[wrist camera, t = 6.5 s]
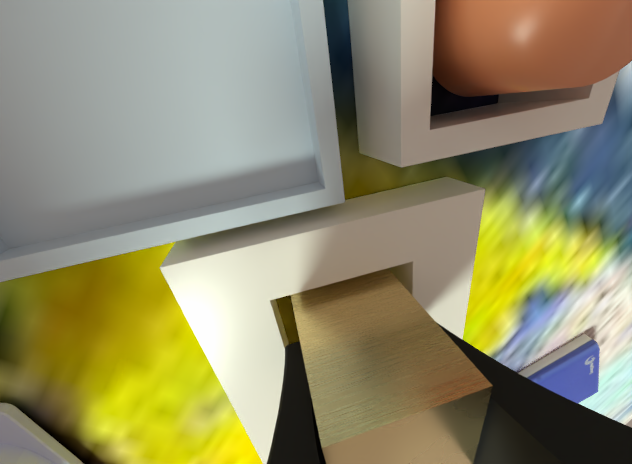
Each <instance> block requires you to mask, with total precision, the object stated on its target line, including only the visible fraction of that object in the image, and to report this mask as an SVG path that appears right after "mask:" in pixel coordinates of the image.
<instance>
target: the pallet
mask: <svg viewBox="0 0 632 464" xmlns="http://www.w3.org/2000/svg"><path fill="white" fill-rule="evenodd" d="M484 195H485V188H481V187H478V186H475V185H472V184H469V183H465V182H462V181H459V180H456V179H453V178H449V177H443V178H439V179H435V180H430V181H426V182H422V183H417V184H413V185H409V186H404V187H400V188H395V189H391V190H387V191H382V192H378V193H374V194H369V195H365V196H361V197H356V198H352V199H348V200H345V202H344V203H340V204H336V205H331V206H327V207H323V208H318V209H314V210H310V211H305V212H301V213H297V214H292V215H288V216H284V217H279V218H275V219H271V220H266V221H262V222H258V223H254V224H249V225H245V226H241V227H236V228H232V229H228V230H223V231H219V232H215V233H210V234H206V235H202V236H197V237H193V238H189V239H184V240H180V241H176V242H175V244H174V246H173V247H172V249H171V250H170V252H169V254H168V255H167V257H166V258H165V260H164V262H163V263H162V265H161V267H160V269H161V271H162V273H163V275H164V277H165V279H166V281H167V283H168V285H169V286H170V288H171V290H172V292H173V294H174V296H175V298H176V300H177V302H178V303H179V305H180V307H181V309H182V311H183V313H184V315H185V317H186V319H187V321H188V322H189V324H190V326H191V328H192V330H193V332H194V334H195V336H196V338H197V339H198V341H199V343H200V345H201V347H202V349H203V351H204V353H205V355H206V356H207V358H208V360H209V362H210V364H211V366H212V368H213V370H214V372H215V373H216V375H217V377H218V379H219V381H220V383H221V385H222V387H223V389H224V390H225V392H226V394H227V396H228V398H229V400H230V402H231V404H232V406H233V407H234V409H235V411H236V413H237V415H238V417H239V419H240V421H241V423H242V424H243V426H244V428H245V430H246V432H247V434H248V436H249V438H250V440H251V441H252V443H253V445H254V447H255V449H256V451H257V453H258V455H259V457H260V458H261V460H262V462H263V464H267V461H268V457H269V452H270V448H271V444H272V439H273V434H274V430H275V425H276V420H277V415H278V410H279V404H280V397H281V391H282V384H283V376H284V366H285V347H286V346H287V345H289V342H288V339H287V335H286V332H285V329H284V325H283V322H282V318H281V315H280V312H279V308H278V305H277V302H276V299H277V298H281V297H285V296H288V295H292V294H295V293H299V292H303V291H306V290H310V289H314V288H317V287H321V286H325V285H328V284H332V283H336V282H339V281H343V280H346V279H350V278H354V277H357V276H361V275H365V274H368V273H372V272H376V271H379V270H383V269H387V268H389V270H390V271H391V272H392V273H393V275H394V276H395V277H396V278H397V279H398V280H399V281H400V282H401V284H402V285H403V286H404V287H405V288H406V289H407V290H408V291H409V292H410V294H411V295H412V296H413V297H414V298H415V299H416V300H417V301H418V303H419V304H420V305H421V306H422V307H423V308H424V309H425V310H426V312H427V313H428V314H429V315H430V316H431V317H432V318H433V319H434V321H435V322H437V323H438V324H440V325H441V326H443V327H444V328H446V329H447V330H449V331H450V332H452V333H453V334H455V335H456V336H458V337H459V338H461V339H463V332H464V326H465V319H466V312H467V306H468V299H469V293H470V286H471V280H472V273H473V267H474V260H475V254H476V247H477V241H478V234H479V228H480V221H481V215H482V208H483V202H484Z"/></svg>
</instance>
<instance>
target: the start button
mask: <svg viewBox="0 0 632 464" xmlns="http://www.w3.org/2000/svg"><path fill="white" fill-rule="evenodd" d="M631 61H632V0H436V1H435V23H434V45H433V68H432V75H433V76H434V77H435V79H436V80H437V82H438V83H439V84H440V85H441V86H442V87H444V88H445V89H446V90H448V91H449V92H451V93H454V94H456V95H459V96H464V97H475V96H486V95H497V94H508V93H519V92H530V91H541V90H552V89H563V88H574V87H583V86H587V85H591V84H595V83H597V82H599V81H602V80H604V79H606V78H608V77H609V76H611V75H613V74H614V73H616V72H618V71H619V70H620V69H622V68H623V67H624V66H626V65H627V64H628V63H630V62H631Z"/></svg>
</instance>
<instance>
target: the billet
mask: <svg viewBox="0 0 632 464" xmlns="http://www.w3.org/2000/svg"><path fill="white" fill-rule="evenodd" d="M290 296H291V300H292V305H293V310H294V315H295V320H296V325H297V330H298V335H299V340H300V344H301V349H302V354H303V359H304V364H305V369H306V374H307V379H308V383H309V388H310V393H311V398H312V403H313V408H314V413H315V418H316V423H317V427H318V432H319V437H320V442H321V447H322V451H323V454H324V458H325V461H326V464H473V462H474V458H475V454H476V450H477V446H478V442H479V439H480V435H481V431H482V427H483V423H484V419H485V415H486V411H487V407H488V403H489V399H490V395H491V391H492V387H493V386H492V384H491V383H490V382H489V381H488V380H487V379H486V378H485V377H484V375H483V374H482V373H481V372H480V371H479V370H478V369H477V368H476V367H475V365H474V364H473V363H472V362H471V361H470V360H469V359H468V358H467V356H466V355H465V354H464V353H463V352H462V351H461V350H460V349H459V347H458V346H457V345H456V344H455V343H454V342H453V341H452V340H451V338H450V337H449V336H448V335H447V334H446V333H445V332H444V331H443V329H442V328H441V327H440V326H439V325H438V324H437V323H436V322H435V321H434V319H433V318H432V317H431V316H430V315H429V314H428V313H427V312H426V310H425V309H424V308H423V307H422V306H421V305H420V304H419V303H418V301H417V300H416V299H415V298H414V297H413V296H412V295H411V294H410V292H409V291H408V290H407V289H406V288H405V287H404V286H403V285H402V284H401V282H400V281H399V280H398V279H397V278H396V277H395V276H394V275H393V273H392V272H391V271H390V270H389V269H388V268H387V269H383V270H379V271H376V272H372V273H368V274H365V275H361V276H357V277H354V278H350V279H346V280H343V281H339V282H336V283H332V284H328V285H325V286H321V287H317V288H314V289H310V290H306V291H303V292H299V293H295V294H292V295H290Z"/></svg>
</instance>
